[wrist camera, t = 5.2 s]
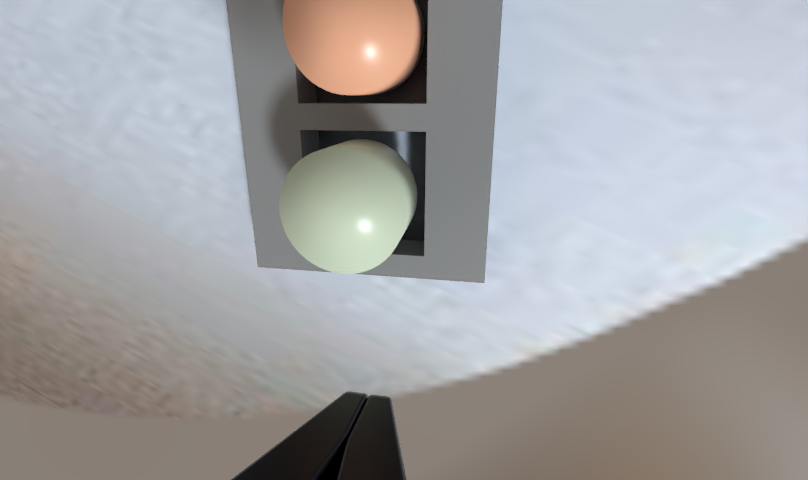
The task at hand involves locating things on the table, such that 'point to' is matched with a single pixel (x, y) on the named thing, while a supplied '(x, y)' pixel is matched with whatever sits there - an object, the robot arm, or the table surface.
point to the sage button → (348, 205)
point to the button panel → (439, 117)
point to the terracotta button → (354, 42)
